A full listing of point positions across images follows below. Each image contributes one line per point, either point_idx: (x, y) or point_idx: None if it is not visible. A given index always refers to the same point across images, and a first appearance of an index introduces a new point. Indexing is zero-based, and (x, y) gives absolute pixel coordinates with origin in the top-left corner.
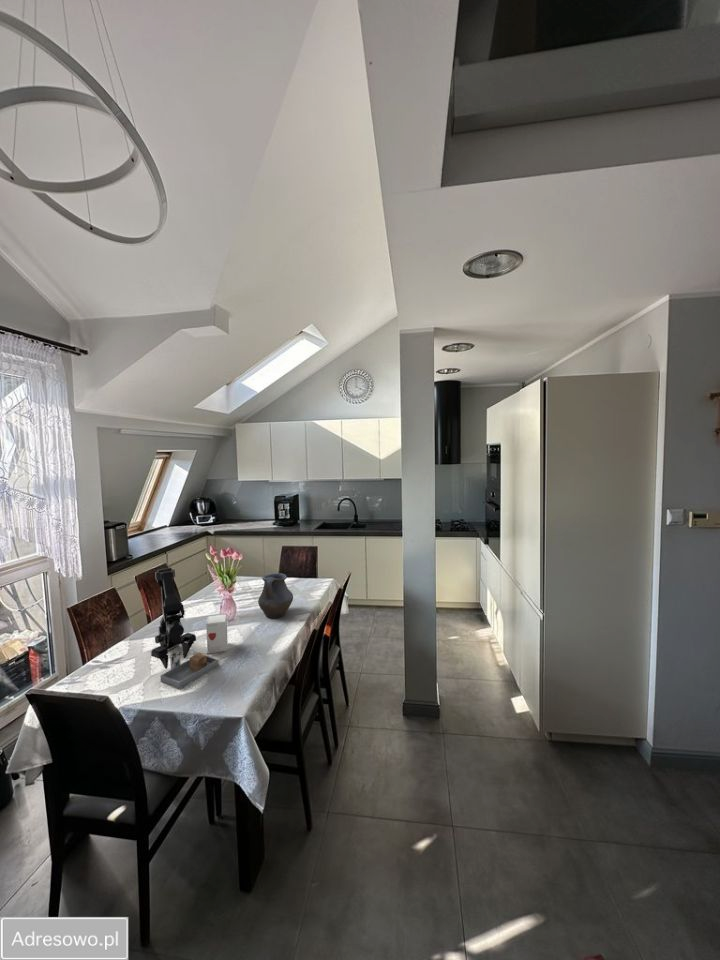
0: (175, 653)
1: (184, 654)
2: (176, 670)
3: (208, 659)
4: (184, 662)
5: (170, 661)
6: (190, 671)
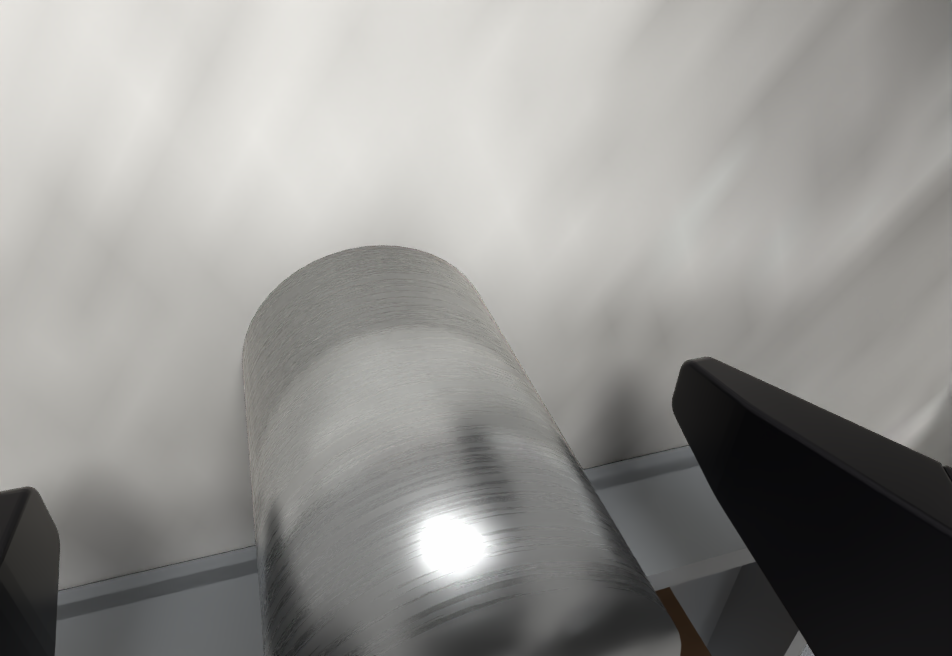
0: (592, 652)
1: (756, 496)
2: (235, 639)
3: (751, 631)
4: None
5: (260, 536)
6: None
